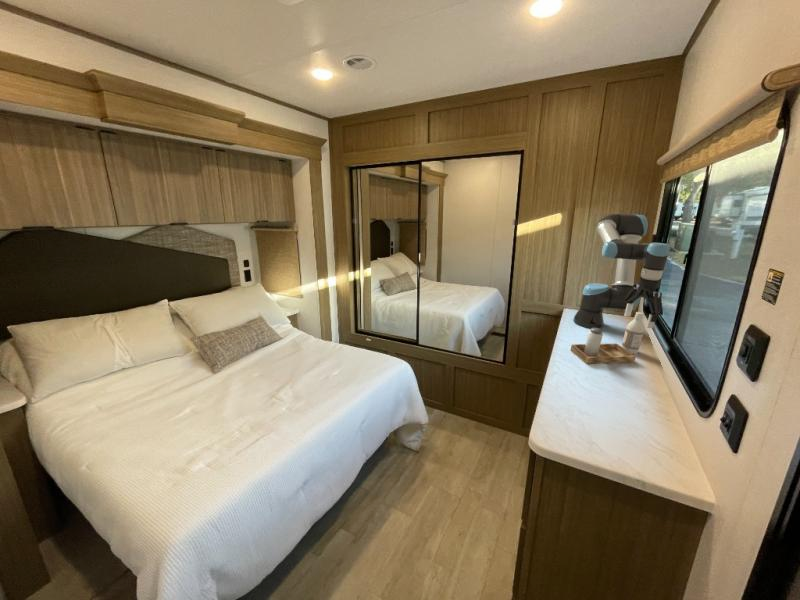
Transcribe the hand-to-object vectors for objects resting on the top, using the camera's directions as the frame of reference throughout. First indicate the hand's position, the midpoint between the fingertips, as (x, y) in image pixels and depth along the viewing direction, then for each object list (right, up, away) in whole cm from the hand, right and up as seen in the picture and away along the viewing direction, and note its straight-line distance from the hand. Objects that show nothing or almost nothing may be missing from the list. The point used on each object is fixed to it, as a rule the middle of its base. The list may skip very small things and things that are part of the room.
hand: (637, 321), depth 152 cm
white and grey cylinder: (-23, -16, 0) cm, 27 cm away
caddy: (-17, -16, 0) cm, 24 cm away
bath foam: (0, -15, +6) cm, 16 cm away
